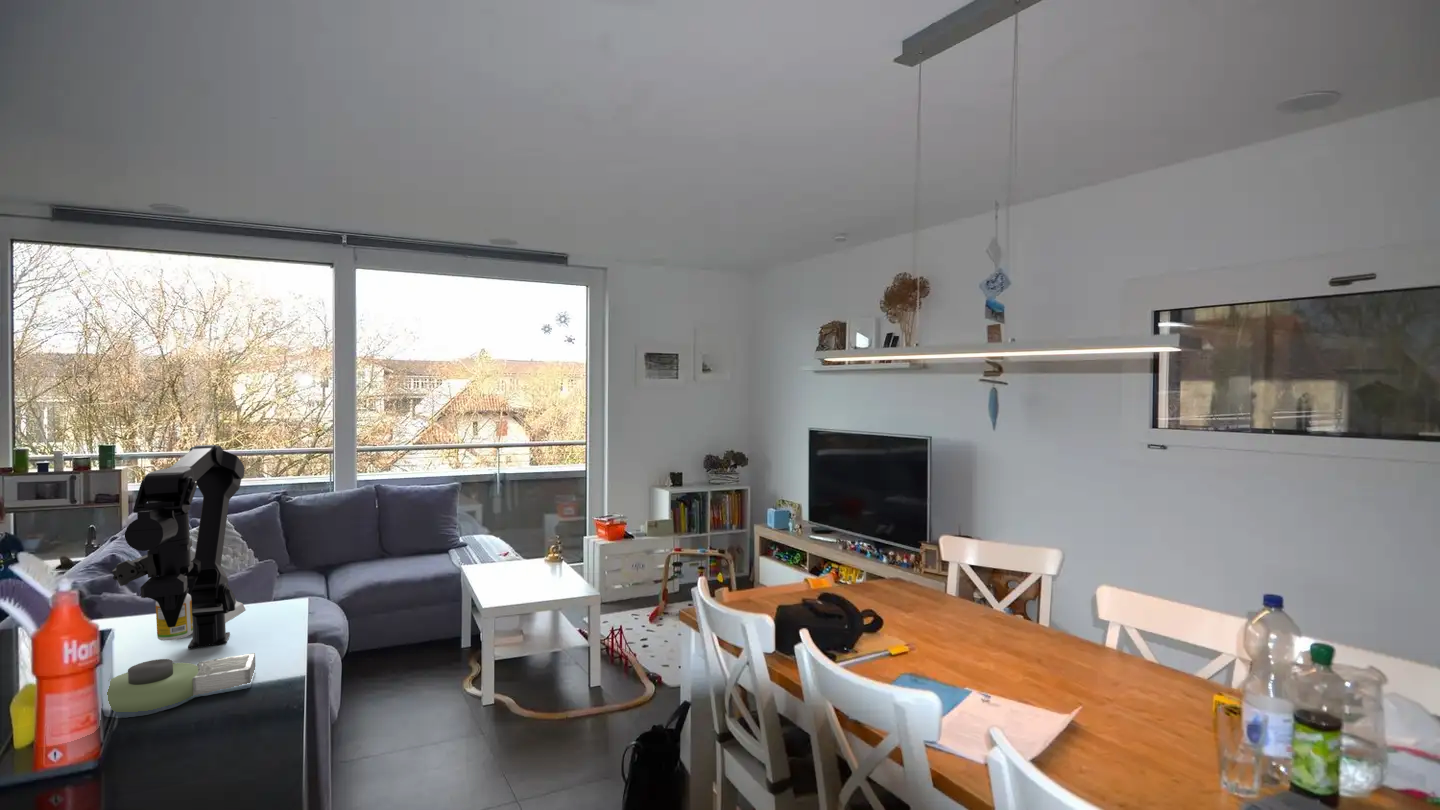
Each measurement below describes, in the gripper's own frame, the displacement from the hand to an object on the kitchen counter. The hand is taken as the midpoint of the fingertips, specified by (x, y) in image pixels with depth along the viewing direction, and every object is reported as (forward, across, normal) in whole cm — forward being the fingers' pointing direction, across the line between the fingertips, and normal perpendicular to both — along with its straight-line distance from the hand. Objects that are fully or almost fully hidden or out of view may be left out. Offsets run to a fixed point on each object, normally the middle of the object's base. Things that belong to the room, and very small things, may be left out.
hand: (174, 622), depth 140 cm
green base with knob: (+9, +15, -1) cm, 17 cm away
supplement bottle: (+3, 0, 0) cm, 3 cm away
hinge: (+9, -31, +1) cm, 32 cm away
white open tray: (+9, +13, +9) cm, 18 cm away
